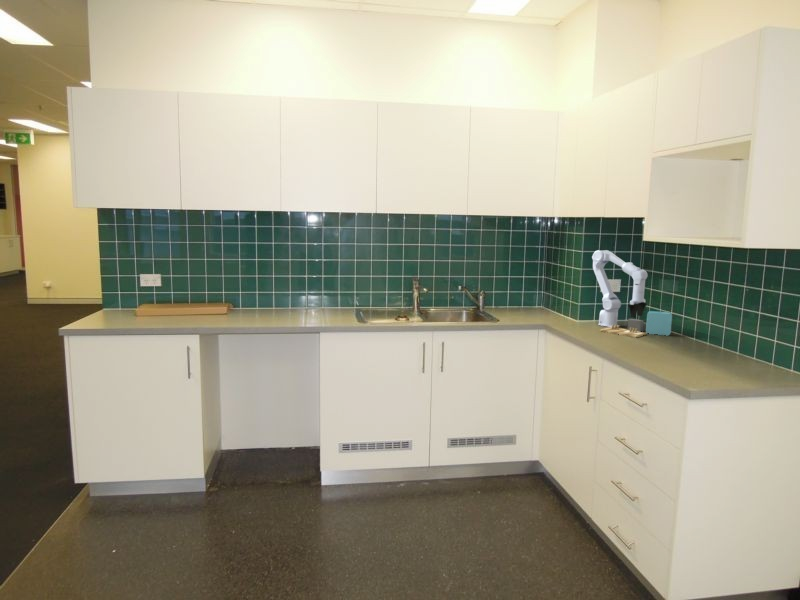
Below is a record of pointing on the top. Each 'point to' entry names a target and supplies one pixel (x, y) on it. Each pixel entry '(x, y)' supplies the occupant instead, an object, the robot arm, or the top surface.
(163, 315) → the top surface
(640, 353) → the top surface
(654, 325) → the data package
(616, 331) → the board
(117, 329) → the top surface
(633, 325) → the block
